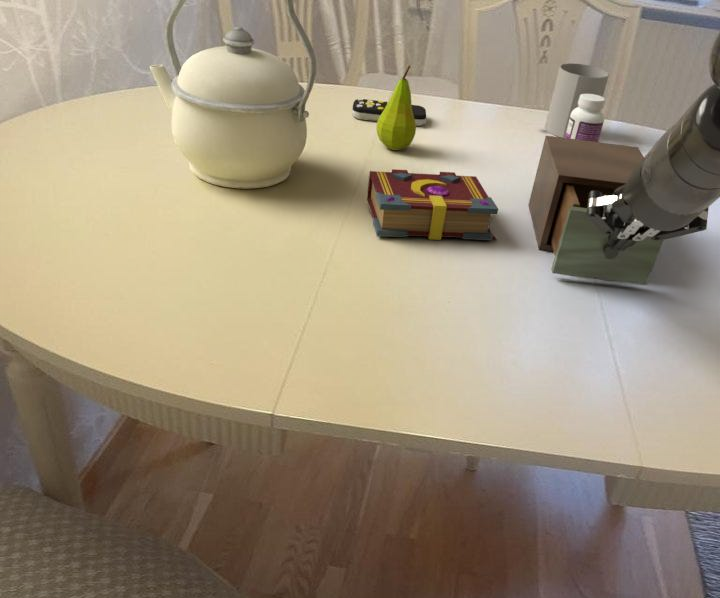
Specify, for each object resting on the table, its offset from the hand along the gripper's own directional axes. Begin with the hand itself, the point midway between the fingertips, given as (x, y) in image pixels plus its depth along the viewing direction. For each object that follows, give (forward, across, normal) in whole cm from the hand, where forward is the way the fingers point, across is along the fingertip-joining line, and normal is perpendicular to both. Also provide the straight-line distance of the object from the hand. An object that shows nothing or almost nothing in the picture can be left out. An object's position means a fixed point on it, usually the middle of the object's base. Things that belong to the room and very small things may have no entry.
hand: (617, 241), depth 86 cm
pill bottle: (+37, -4, -28) cm, 47 cm away
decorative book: (+14, +20, -5) cm, 26 cm away
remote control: (+44, +28, -35) cm, 63 cm away
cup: (+48, -4, -38) cm, 61 cm away
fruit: (+34, +26, -24) cm, 49 cm away
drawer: (+9, 0, -1) cm, 9 cm away
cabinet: (+16, 0, -7) cm, 18 cm away
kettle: (+22, +49, -13) cm, 55 cm away
